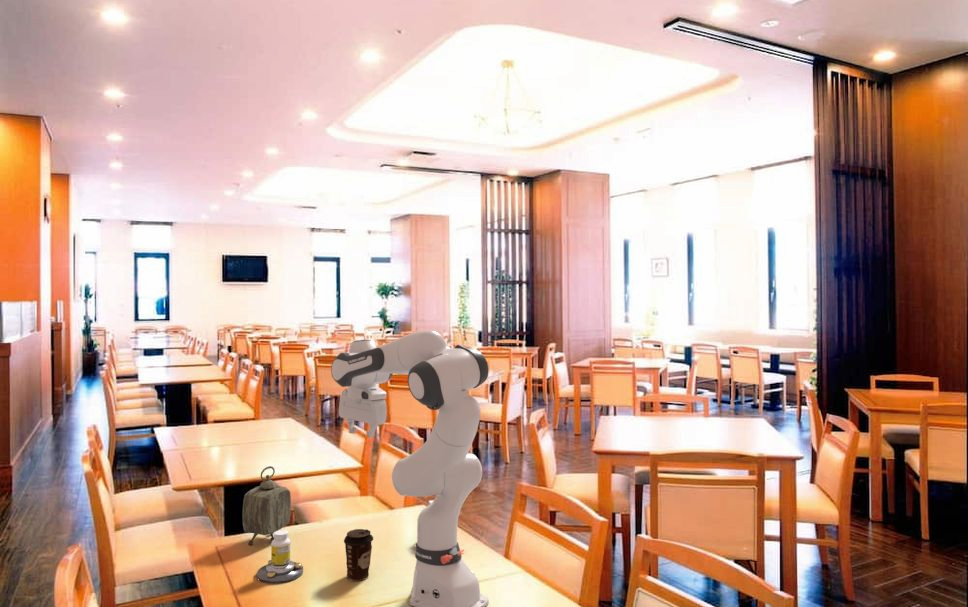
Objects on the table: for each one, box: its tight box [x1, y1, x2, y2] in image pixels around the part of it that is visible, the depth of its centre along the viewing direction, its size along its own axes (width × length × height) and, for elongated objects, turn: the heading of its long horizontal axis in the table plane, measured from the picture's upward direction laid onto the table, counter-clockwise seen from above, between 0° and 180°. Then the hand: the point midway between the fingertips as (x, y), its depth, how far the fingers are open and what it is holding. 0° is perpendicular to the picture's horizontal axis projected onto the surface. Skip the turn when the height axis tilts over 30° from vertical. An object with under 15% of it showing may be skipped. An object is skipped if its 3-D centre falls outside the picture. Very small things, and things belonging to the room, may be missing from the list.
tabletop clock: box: [241, 466, 292, 546], centre depth 222 cm, size 14×9×25 cm, turn 160°
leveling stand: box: [256, 559, 304, 584], centre depth 196 cm, size 13×13×3 cm
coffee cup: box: [343, 528, 374, 582], centre depth 195 cm, size 9×8×13 cm
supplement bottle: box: [270, 529, 291, 568], centre depth 196 cm, size 5×5×10 cm
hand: (361, 435), depth 207 cm, fingers open, 8 cm apart
